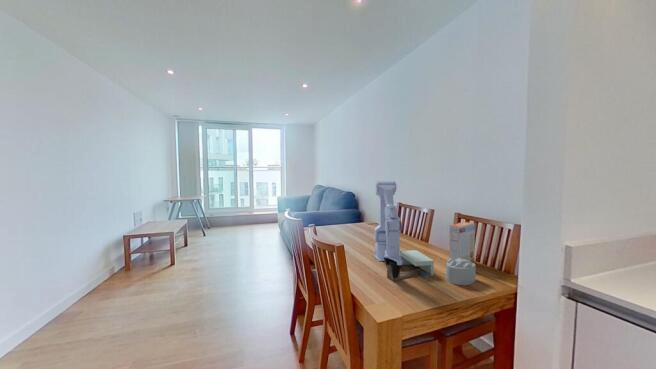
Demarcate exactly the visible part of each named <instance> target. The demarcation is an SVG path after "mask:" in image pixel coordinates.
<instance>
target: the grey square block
mask: <svg viewBox="0 0 656 369" xmlns="http://www.w3.org/2000/svg"><path fill="white" fill-rule="evenodd" d="M418 276H420V277H422V278H424V279H427V278H431V277H432V276H433V275H432V274H430V273H428V272H426V271H424V272H419V275H418Z"/></svg>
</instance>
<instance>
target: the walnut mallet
mask: <svg viewBox="0 0 656 369" xmlns="http://www.w3.org/2000/svg"><path fill="white" fill-rule="evenodd" d="M424 271H425V270H423V269H421V268H418V269H413V270H408V271H403V272H401V271H400V272H399V275H398V278H393V276H392V269H391V265H390V264H389V265H387V266H386V278H387V279H389V280H390V281H391V282H394V281H400V280H402V279H406V278H410V277H417V276H420V275H419V272H424Z"/></svg>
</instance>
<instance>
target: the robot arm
mask: <svg viewBox="0 0 656 369" xmlns="http://www.w3.org/2000/svg"><path fill="white" fill-rule="evenodd" d="M396 192H397V183H396V181H395V180H394V181H376V183H375V196H378V197H379V225H377V226H375V227H374V231H373V232H374V233H373V238H374V242H375V244H374V254H373V257H374V258H375V259H377V261H379V262H385V265H386V267H387V265H389V264H390V265H391V269H392V276H393V278H398V275H399V272H400V273H401V269H402V267H403V266H404V265H403V263H402V260H401V257H400V251H401V250H400V249H401V248H400V244H401V238H400V237H401V236H400V234H401V232H402V220H401V218H400V216H399V214H398V207H397V206H396V205H394V204H395V203H394V195H395V194H396Z"/></svg>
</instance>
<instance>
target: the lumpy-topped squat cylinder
mask: <svg viewBox="0 0 656 369" xmlns="http://www.w3.org/2000/svg"><path fill="white" fill-rule="evenodd" d="M445 265H446V266H445V267H446V268H445V269H446V270H445V280H446V281H447V282H448V283H450V284H452V285H456V286H469V285H473V283H475V282H476V275H477V272H476V271H477V270H476V269H477V268H476V267H477V266H476V263H475V262H473V263H472V262H471V261H469V260H465V259H462V258H458V259H454V258H450V257H449V259H448V261H447V262H446V264H445Z"/></svg>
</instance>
